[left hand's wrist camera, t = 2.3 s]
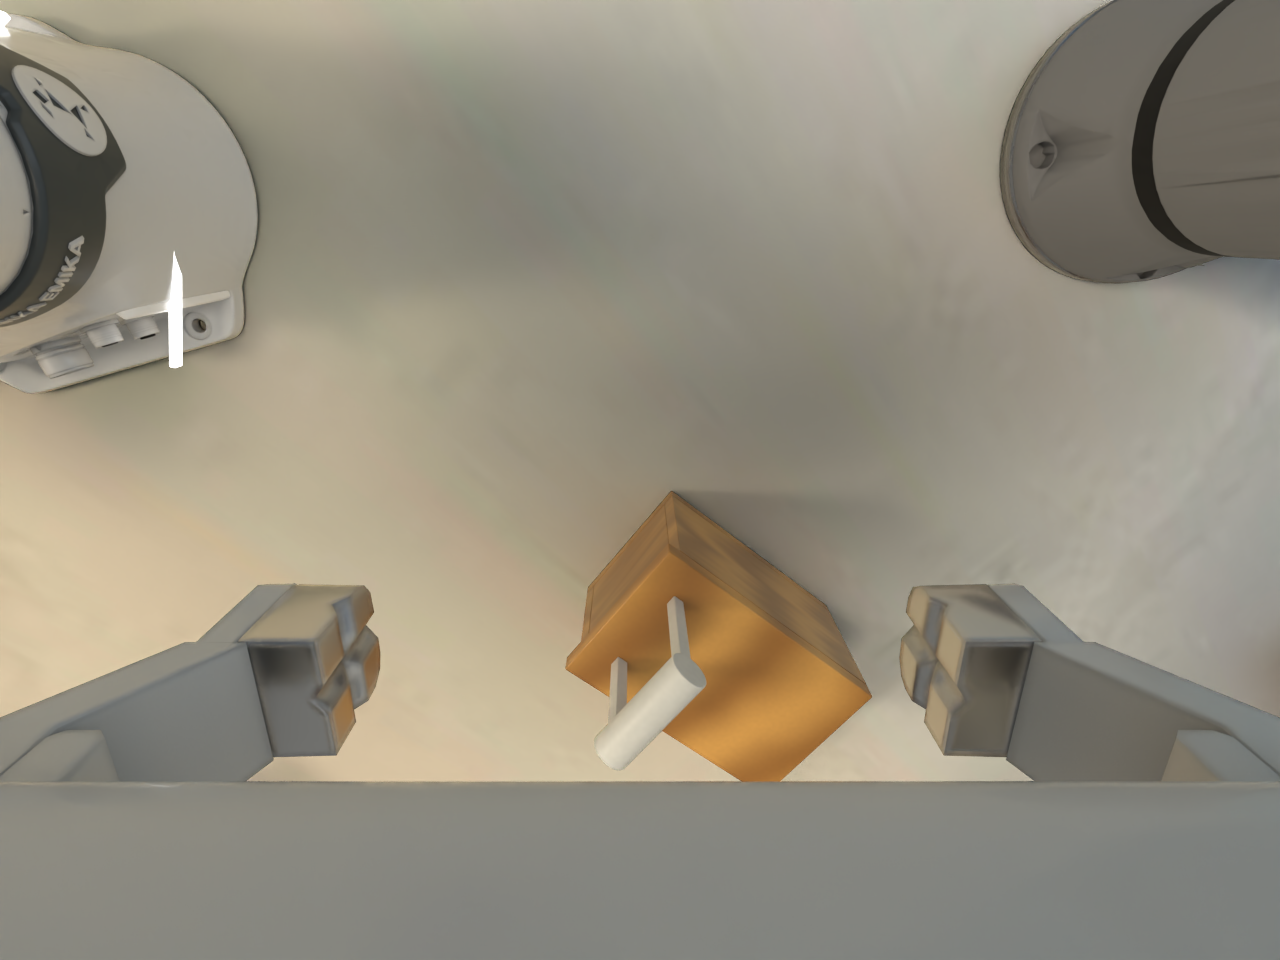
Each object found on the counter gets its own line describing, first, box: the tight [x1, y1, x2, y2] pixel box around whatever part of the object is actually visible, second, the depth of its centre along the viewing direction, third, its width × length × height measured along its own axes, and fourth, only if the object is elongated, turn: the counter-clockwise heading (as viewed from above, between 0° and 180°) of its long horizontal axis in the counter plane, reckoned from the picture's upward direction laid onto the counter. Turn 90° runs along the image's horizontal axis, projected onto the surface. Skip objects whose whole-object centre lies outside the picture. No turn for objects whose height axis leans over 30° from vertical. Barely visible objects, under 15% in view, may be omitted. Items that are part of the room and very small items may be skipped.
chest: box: [581, 491, 866, 684], centre depth 45 cm, size 15×10×9 cm, turn 52°
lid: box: [565, 544, 872, 782], centre depth 37 cm, size 16×10×9 cm, turn 52°
